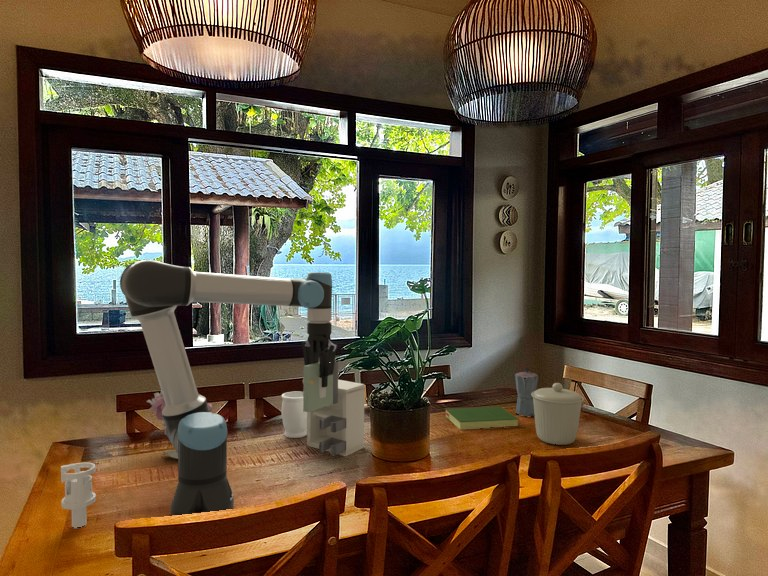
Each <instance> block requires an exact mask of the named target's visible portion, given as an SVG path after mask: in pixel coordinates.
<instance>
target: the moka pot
mask: <svg viewBox="0 0 768 576" xmlns="http://www.w3.org/2000/svg"><path fill="white" fill-rule="evenodd" d="M514 378H515V379H514V380H515V387H516V388H515V389H516V392H517V400H516V407H515V413H517V414H519V415H523V416H534V403H533V397H532V395H531V393H532V392H534V391H536V390H537V387H538V381H539V375H538V374H537V373H536V372H530V369H529V368H528V367H527V368H524V371H521V372H517V373H514ZM534 417H535V416H534Z"/></svg>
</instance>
